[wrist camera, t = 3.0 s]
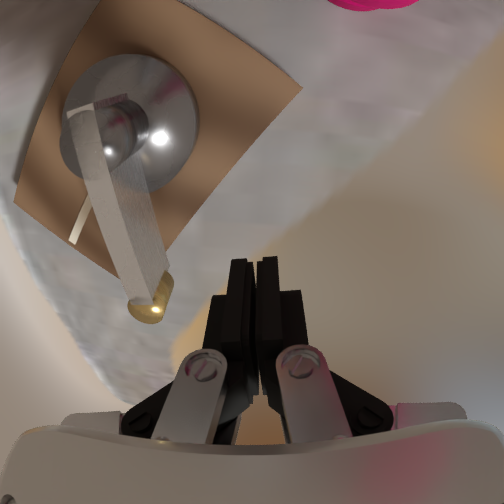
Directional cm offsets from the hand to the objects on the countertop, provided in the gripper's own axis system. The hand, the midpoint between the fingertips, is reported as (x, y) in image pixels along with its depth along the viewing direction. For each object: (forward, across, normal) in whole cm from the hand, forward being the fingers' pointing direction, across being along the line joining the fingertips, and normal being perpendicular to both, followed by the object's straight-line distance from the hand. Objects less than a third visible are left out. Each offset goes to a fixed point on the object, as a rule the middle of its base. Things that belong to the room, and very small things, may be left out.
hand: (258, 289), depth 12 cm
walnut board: (+12, +9, -5) cm, 15 cm away
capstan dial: (+9, +8, -2) cm, 12 cm away
